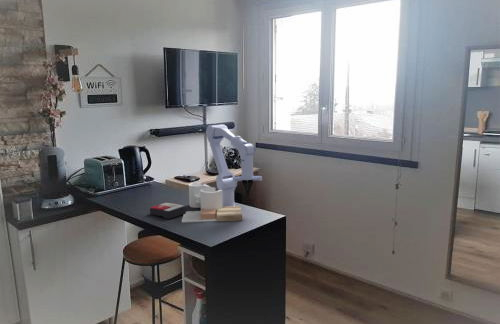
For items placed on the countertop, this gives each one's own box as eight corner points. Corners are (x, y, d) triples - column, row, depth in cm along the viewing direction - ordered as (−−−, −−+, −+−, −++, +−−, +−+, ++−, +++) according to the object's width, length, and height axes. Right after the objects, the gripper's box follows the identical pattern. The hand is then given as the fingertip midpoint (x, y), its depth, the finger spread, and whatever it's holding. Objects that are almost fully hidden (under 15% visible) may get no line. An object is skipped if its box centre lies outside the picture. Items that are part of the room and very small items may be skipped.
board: (217, 211, 204) (216, 206, 203) (240, 210, 205) (240, 205, 204) (216, 221, 188) (216, 216, 188) (242, 220, 189) (242, 215, 189)
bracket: (185, 205, 216) (184, 183, 214) (201, 202, 222) (201, 181, 219) (206, 217, 196) (205, 193, 194) (224, 213, 201) (223, 190, 199)
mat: (184, 212, 203) (184, 211, 203) (217, 211, 204) (217, 210, 204) (181, 222, 187) (181, 221, 187) (216, 221, 188) (216, 220, 188)
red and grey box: (166, 201, 208) (185, 204, 199) (167, 209, 209) (186, 212, 200) (149, 207, 200) (168, 210, 191) (150, 215, 201) (169, 218, 191)
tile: (201, 212, 200) (201, 208, 200) (215, 212, 201) (215, 207, 200) (200, 219, 190) (200, 214, 190) (215, 218, 191) (215, 213, 190)
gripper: (232, 170, 192) (233, 197, 194) (262, 169, 193) (263, 196, 195) (232, 167, 199) (232, 193, 201) (261, 166, 200) (261, 192, 202)
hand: (247, 194), depth 198 cm, fingers closed
